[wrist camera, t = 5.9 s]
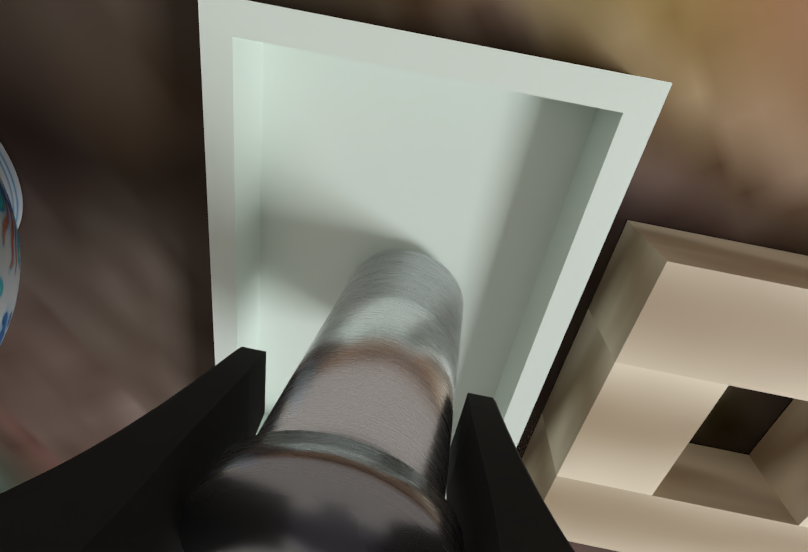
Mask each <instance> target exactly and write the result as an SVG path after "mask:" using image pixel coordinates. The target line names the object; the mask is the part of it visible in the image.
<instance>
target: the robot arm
mask: <svg viewBox="0 0 808 552" xmlns="http://www.w3.org/2000/svg"><path fill="white" fill-rule="evenodd" d="M265 381H266V351H261V350H256V349H251V348H246V347H240V348H238V349H237V350H236V351H234V352H233V353H231V354H230V355H229V356H227V357H226V358H225V359H223V360H222V361H221V362H219V363H218V364H217V365H215V366H214V367H213V368H211V369H210V370H209V371H207V372H206V373H205V374H203V375H202V376H200V377H199V378H198V379H196V380H195V381H194V382H192V383H191V384H189V385H188V386H187V387H185V388H184V389H182V390H181V391H179V392H178V393H177V394H175V395H174V396H172V397H171V398H169V399H168V400H167V401H165V402H164V403H162V404H161V405H159V406H158V407H156V408H155V409H153V410H152V411H150V412H148V413H147V414H145V415H144V416H142V417H141V418H139V419H138V420H136V421H134V422H133V423H131V424H130V425H128V426H127V427H125V428H124V429H122V430H120V431H119V432H117V433H115V434H114V435H112V436H110V437H109V438H107V439H105V440H104V441H102V442H100V443H98V444H97V445H95V446H93V447H91V448H90V449H88V450H86V451H84V452H82V453H81V454H79V455H77V456H75V457H73V458H72V459H70V460H68V461H66V462H64V463H62V464H60V465H58V466H56V467H54V468H52V469H50V470H49V471H47V472H45V473H42V474H40V475H38V476H36V477H34V478H32V479H30V480H28V481H26V482H24V483H22V484H20V485H18V486H16V487H14V488H12V489H10V490H8V491H5V492H3V493H1V494H0V552H184V551H183V548H182V545H181V541H180V537H179V522H180V516H181V514H182V511H183V509H184V507H185V505H186V503H187V502H188V500H189V499H190V497H191V496H192V494H193V493H194V491H195V490H196V488H197V487H198V485H199V484H200V482H201V481H202V479H203V478H204V476H205V475H206V473H207V472H208V470H209V469H210V467H211V466H212V464H213V463H214V462H215V460H216V459H217V458H218V456H219V455H220V454H221V453H223V452H224V451H225V450H226V449H227V448H228V447H230V446H232V445H233V444H235V443H237V442H238V441H240V440H243V439H246V438H248V437H251V436H254V435H256V433H257V431H258V428H259V426H260V423H261V421H262V418H263V416H264V413H265ZM446 500H447V502H448V503H449V504H450V506H451V507H452V509H453V511H454V513H455V514H456V516H457V518H458V521H459V523H460V526H461V529H462V534H463V539H464V551H463V552H575V551H574V550H573V548H572V547H571V545H570V543H569V542H568V540H567V539H566V537H565V536H564V534H563V532H562V531H561V529H560V527H559V526H558V524H557V523H556V521H555V519H554V517H553V516H552V514H551V512H550V510H549V509H548V507H547V505H546V504H545V502H544V500H543V498H542V497H541V495H540V493H539V491H538V489H537V487H536V486H535V484H534V482H533V480H532V478H531V476H530V474H529V472H528V470H527V468H526V466H525V464H524V462H523V461H522V459H521V457H520V454H519V452H518V450H517V448H516V446H515V444H514V442H513V440H512V438H511V436H510V433H509V431H508V429H507V427H506V424H505V422H504V420H503V418H502V415H501V413H500V411H499V408H498V406H497V403H496V401H495V400H494V399H493V398H492V397H487V396H482V395H477V394H472V393H468V394H467V397H466V400H465V403H464V406H463V409H462V412H461V415H460V418H459V422H458V425H457V428H456V431H455V434H454V437H453V440H452V443H451V446H450V455H449V465H448V476H447V487H446Z"/></svg>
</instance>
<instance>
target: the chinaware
mask: <svg viewBox="0 0 808 552" xmlns="http://www.w3.org/2000/svg"><path fill="white" fill-rule="evenodd" d="M22 212H23V199H22V191H21V187H20V183H19V179H18V176H17V173H16V171H15V168H14V166H13V164H12V162H11V160H10V158H9V156H8V154H7V152H6V150H5V149H4V147H3V146H2V144H1V142H0V345H1V343H2V341H3V338H4V336H5V334H6V331H7V329H8V326H9V324H10V321H11V318H12V314H13V311H14V307H15V303H16V299H17V294H18V287H19V280H20V243H19V235H18V228H19V225H20V222H21V218H22Z"/></svg>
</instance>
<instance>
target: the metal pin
mask: <svg viewBox="0 0 808 552" xmlns="http://www.w3.org/2000/svg"><path fill="white" fill-rule="evenodd" d="M463 307H464V303H463V296H462V292H461V289H460V287H459V284H458V282H457V281H456V279H455V278H454V276H453V275H452V274H451V272H450V271H449V270H448V269H447V268H446V267H445V266H444V265H442V264H441V263H440V262H438V261H437V260H435V259H433V258H432V257H430V256H427V255H425V254H423V253H419V252H416V251H410V250H389V251H384V252H381V253H378V254H375V255H373V256H372V257H370V258H368V259H367V260H365V261H364V262H363V263H362V264H361V265H360V266H359V267H358V268H357V269H356V270H355V272H354V273H353V275H352V277H351V278H350V280H349V282H348V283H347V285H346V287H345V288H344V290H343V292H342V293H341V295H340V297H339V298H338V300H337V302H336V303H335V305H334V307H333V308H332V310H331V312H330V313H329V315H328V317H327V318H326V320H325V322H324V323H323V325H322V327H321V328H320V330H319V332H318V333H317V335H316V337H315V338H314V340H313V342H312V343H311V345H310V347H309V348H308V350H307V352H306V353H305V355H304V357H303V358H302V360H301V362H300V363H299V365H298V367H297V369H296V370H295V372H294V374H293V375H292V377H291V379H290V380H289V382H288V384H287V385H286V387H285V389H284V390H283V392H282V394H281V395H280V397H279V399H278V400H277V402H276V404H275V405H274V407H273V409H272V410H271V412H270V414H269V415H268V417H267V419H266V420H265V422H264V424H263V425H262V427H261V429H260V430H259V432H258V434H257V435H254V436H251V437H248V438H246V439H243V440H240V441H238V442H237V443H235V444H233V445H232V446H230V447H228V448H227V449H226V450H225V451H224V452H223V453H221V454H220V455H219V456H218V458H217V459H216V460H215V462H214V463H213V464H212V466H211V467H210V469H209V470H208V472H207V473H206V475H205V476H204V478H203V479H202V481H201V482H200V484H199V485H198V487H197V488H196V490H195V491H194V493H193V494H192V496H191V497H190V499H189V500H188V502H187V503H186V505H185V507H184V509H183V511H182V514H181V516H180V522H179V537H180V541H181V545H182V548H183V551H184V552H463V551H464V539H463V534H462V529H461V526H460V523H459V521H458V518H457V516H456V514H455V513H454V511H453V509H452V507H451V506H450V504H449V503H448V502H447V500H446V499H445V496H446V486H447V476H448V465H449V455H450V444H451V434H452V424H453V413H454V403H455V392H456V382H457V372H458V361H459V351H460V340H461V330H462V320H463Z"/></svg>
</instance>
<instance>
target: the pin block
mask: <svg viewBox="0 0 808 552" xmlns="http://www.w3.org/2000/svg"><path fill="white" fill-rule="evenodd" d="M729 385H730V386H735V387H740V388H745V389H750V390H755V391H760V392H765V393H770V394H775V395H780V396H785V397H789V398H794V399H793V401H792V402H791V403H790V404H789V406H788V407H787V408H786V409H785V411H784V412H783V413H782V414H781V416H780V417H779V418H778V419H777V421H776V422H775V423H774V424H773V425H772V427H771V428H770V429H769V430H768V432H767V433H766V434H765V435H764V437H763V438H762V439H761V440H760V442H759V443H758V444H757V445H756V447H755V448H754V449H753V450H752V451H751V453H750V454H749V455H746V454H741V453H736V452H731V451H726V450H721V449H717V448H712V447H707V446H702V445H697V444H692V443H689V442H690V440H691V439H692V437H693V436H694V434H695V433H696V432H697V430H698V429H699V427H700V426H701V424H702V423H703V421H704V420H705V419H706V417H707V416H708V414H709V413H710V411H711V410H712V409H713V407H714V406H715V404H716V403H717V401H718V400H719V399H720V397H721V396H722V394H723V393H724V391H725V390H726V389H727V387H728V386H729ZM522 461H523V462H524V464H525V466H526V468H527V470H528V472H529V474H530V476H531V478H532V480H533V482H534V484H535V486H536V487H537V489H538V491H539V493H540V495H541V497H542V498H543V500H544V502H545V504H546V505H547V507H548V509H549V510H550V512H551V514H552V516H553V517H554V519H555V521H556V523H557V524H558V526H559V527H560V529H561V531H562V532H563V534H564V536H565V537H566V539H567V540H568V541H571V542H576V543H581V544H585V545H590V546H595V547H600V548H605V549H610V550H614V551H619V552H808V256H806V255H801V254H796V253H791V252H786V251H781V250H776V249H771V248H766V247H761V246H756V245H751V244H746V243H741V242H736V241H730V240H725V239H720V238H715V237H710V236H705V235H700V234H695V233H690V232H685V231H680V230H675V229H670V228H665V227H660V226H655V225H650V224H645V223H640V222H635V221H630V220H627V223H626V225H625V227H624V229H623V232H622V234H621V236H620V238H619V241H618V243H617V245H616V247H615V250H614V252H613V254H612V256H611V259H610V261H609V263H608V265H607V268H606V270H605V272H604V274H603V277H602V279H601V281H600V283H599V286H598V288H597V290H596V292H595V295H594V297H593V299H592V301H591V304H590V306H589V308H588V310H587V313H586V315H585V317H584V319H583V322H582V324H581V326H580V328H579V331H578V333H577V335H576V337H575V340H574V342H573V344H572V346H571V349H570V351H569V353H568V355H567V358H566V360H565V362H564V364H563V367H562V369H561V371H560V373H559V376H558V378H557V380H556V382H555V385H554V387H553V389H552V391H551V394H550V396H549V398H548V400H547V403H546V405H545V407H544V410H543V412H542V414H541V416H540V419H539V421H538V423H537V425H536V428H535V430H534V432H533V434H532V437H531V439H530V441H529V443H528V446H527V448H526V450H525V452H524V455H523V457H522Z"/></svg>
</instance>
